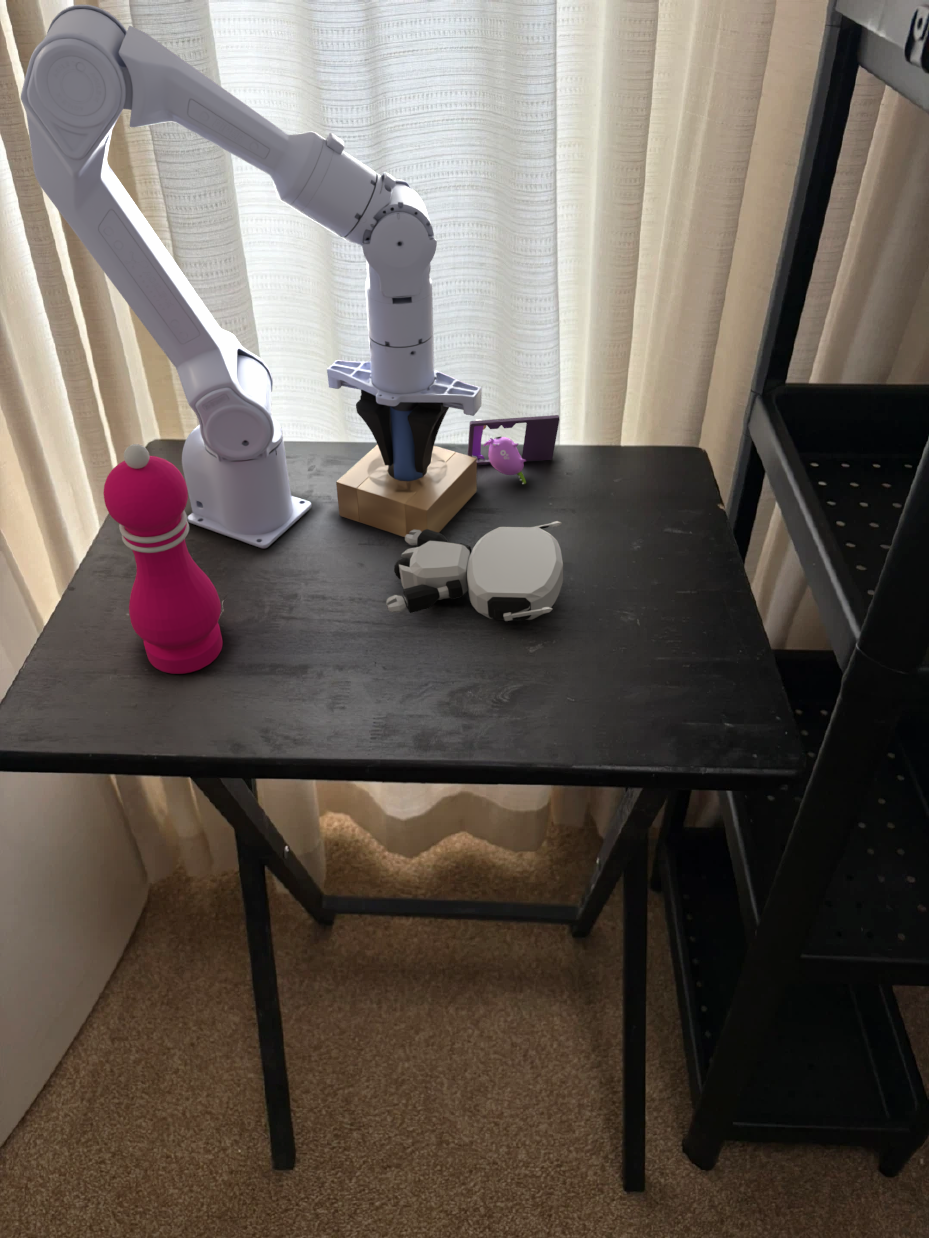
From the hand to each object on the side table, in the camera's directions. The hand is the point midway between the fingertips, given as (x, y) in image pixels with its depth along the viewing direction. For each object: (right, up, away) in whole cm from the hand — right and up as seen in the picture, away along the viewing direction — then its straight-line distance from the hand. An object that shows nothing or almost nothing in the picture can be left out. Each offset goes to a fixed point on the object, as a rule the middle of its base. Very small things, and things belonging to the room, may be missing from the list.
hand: (407, 463), depth 100 cm
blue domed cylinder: (0, -2, +2) cm, 2 cm away
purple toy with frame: (+10, 0, +7) cm, 13 cm away
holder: (0, -4, +3) cm, 5 cm away
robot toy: (+7, -13, -7) cm, 16 cm away
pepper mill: (-18, -18, -12) cm, 28 cm away
